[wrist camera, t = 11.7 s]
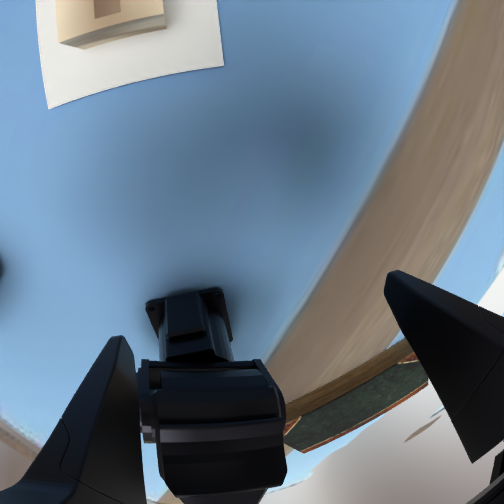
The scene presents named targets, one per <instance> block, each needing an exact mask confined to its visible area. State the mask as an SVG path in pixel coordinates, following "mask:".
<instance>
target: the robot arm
mask: <svg viewBox="0 0 504 504" xmlns="http://www.w3.org/2000/svg"><path fill="white" fill-rule="evenodd" d="M216 293H219V294H218V295H215V294H216ZM384 296H385V298H386V300H387V302H388V304H389V306H390V308H391V310H392V312H393V315H394V317H395V319H396V321H397V323H398V325H399V327H400V329H401V331H402V333H403V334H404V336H405V338H406V339H407V341H408V343H409V344H410V346H411V348H412V350H413V351H414V353H415V355H416V356H417V358H418V360H419V362H420V363H421V365H422V367H423V369H424V370H425V372H426V374H427V376H428V378H429V379H430V381H431V383H432V385H433V387H434V388H435V390H436V392H437V394H438V396H439V398H440V400H441V401H442V403H443V405H444V407H445V409H446V411H447V413H448V415H449V417H450V419H451V421H452V423H453V425H454V427H455V429H456V431H457V433H458V435H459V438H460V440H461V442H462V444H463V446H464V448H465V450H466V452H467V455H468V457H469V459H470V461H471V463H474V462H475V461H477V460H478V459H479V458H481V457H482V456H483V455H485V454H486V453H487V452H489V451H490V450H491V449H492V448H494V447H495V446H496V445H498V444H499V443H500V442H501V441H502V440H503V442H504V317H502V316H500V315H498V314H495V313H493V312H491V311H488V310H487V309H484V308H482V307H480V306H479V307H478V305H476V304H474V303H472V302H469V301H467V300H465V299H463V298H461V297H459V296H456V295H454V294H452V293H450V292H448V291H445V290H443V289H441V288H439V287H436V286H434V285H432V284H430V283H427V282H425V281H423V280H421V279H418V278H416V277H414V276H411V275H409V274H407V273H405V272H402V271H400V270H395V271H392V272H389V273H388V274H387V277H386V282H385V287H384ZM150 307H154V308H150ZM146 312H147V314H148V317H149V319H150V321H151V323H152V326H153V328H154V330H155V333H156V335H157V337H158V339H159V360H160V361H149V359H142V361H141V368H138V372H137V373H136V370H135V361H134V355H133V352H132V350H131V348H130V346H129V345H128V343H127V341H126V339H125V337H124V336H122V335H119V336H113V337H111V338H110V339H109V340H108V342H107V344H106V345H105V347H104V348H103V350H102V351H101V353H100V354H99V356H98V357H97V359H96V361H95V362H94V364H93V365H92V367H91V368H90V370H89V372H88V373H87V375H86V377H85V378H84V380H83V381H82V383H81V385H80V386H79V388H78V390H77V391H76V393H75V395H74V396H73V398H72V400H71V401H70V403H69V405H68V406H67V408H66V410H65V411H64V413H63V415H62V418H61V419H60V420H59V422H58V423H57V425H56V427H55V429H54V430H53V432H52V434H51V435H50V437H49V439H48V440H47V442H46V443H45V445H44V446H43V448H42V449H41V451H40V452H39V454H38V455H37V457H36V458H35V460H34V461H33V463H32V464H31V466H30V467H29V469H28V470H27V472H26V473H25V475H24V476H23V477H22V478H21V480H20V481H19V482H17V483H16V484H15V485H13V486H12V487H9V488H7V489H5V490H3V491H0V504H147V502H146V494H145V485H144V475H143V464H142V451H141V434H140V433H143V440H144V443H156V447H157V458H158V467H159V473H160V476H161V478H162V479H163V480H164V481H165V483H166V485H167V486H168V488H169V489H170V490H171V492H172V493H173V494H174V496H175V497H176V498H179V499H180V500H181V501H182V502H183V503H184V504H259V502H260V501H261V499H262V497H263V496H264V494H265V493H266V491H267V489H268V488H272V487H278V486H281V485H282V484H283V482H284V479H285V477H286V474H287V464H286V458H285V452H284V440H283V431H284V429H285V425H286V406H285V402H284V398H283V395H282V393H281V391H280V389H279V387H278V386H277V384H276V383H275V381H274V380H273V378H272V377H271V375H270V374H269V372H268V371H267V369H266V368H265V366H264V365H263V363H262V361H261V360H260V359H253V360H252V361H234V358H233V354H232V350H231V346H230V342H232V340H233V337H232V333H231V328H230V323H229V319H228V314H227V309H226V304H225V299H224V294H223V291H222V289H221V288H212V289H207V290H203V291H198V292H193V293H188V294H184V295H179V296H174V297H169V298H164V299H159V300H154V301H149V302H147V303H146ZM466 504H504V449H503V450H502V451H501V452H500V453H499V454H498V455H497V456H496V457H495V461H494V467H493V471H492V475H491V480H490V485H489V486H488V487H487V488H485V489H484V490H483V491H482V492H480V493H479V494H478V495H477V496H475V497H474V498H473V499H471V500H470V501H469V502H468V503H466Z"/></svg>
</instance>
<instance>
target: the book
mask: <svg viewBox="0 0 504 504" xmlns="http://www.w3.org/2000/svg"><path fill="white" fill-rule="evenodd" d="M427 385H428V376H427V374H426V372H425V370H424V369H423V367H422V365H421V363H420V362H419V360H418V358H417V356H416V355H415V353H414V351H413V350H412V348H411V346H410V344H409V343H408V341H407V339H406V338H404V339H403V340H401V341H399V342H398V343H396V344H395V345H393V346H392V347H390V348H389V349H387V350H385V351H384V352H382V353H381V354H379V355H377V356H376V357H374V358H372V359H371V360H369V361H367V362H366V363H364V364H362V365H361V366H359V367H357V368H355V369H354V370H352V371H350V372H348V373H347V374H345V375H343V376H341V377H339V378H338V379H336V380H334V381H332V382H330V383H328V384H326V385H324V386H323V387H321V388H319V389H317V390H315V391H313V392H311V393H309V394H307V395H305V396H303V397H301V398H299V399H296V400H294V401H292V402H290V403H288V404H286V405H285V406H286V425H285V429H284V431H283V440H284V443H285V444H287V445H288V446H290V447H292V448H294V449H296V450H298V451H300V452H302V453H307V452H309V451H311V450H314V449H316V448H318V447H320V446H323V445H325V444H327V443H329V442H331V441H333V440H335V439H337V438H339V437H341V436H343V435H345V434H347V433H349V432H351V431H353V430H355V429H357V428H359V427H361V426H362V425H364V424H366V423H368V422H370V421H372V420H373V419H375V418H377V417H379V416H380V415H382V414H384V413H386V412H387V411H389V410H391V409H392V408H394V407H396V406H397V405H399V404H400V403H402V402H404V401H405V400H407V399H408V398H410V397H411V396H413V395H414V394H416V393H417V392H419V391H420V390H421V389H423V388H425V387H426V386H427Z"/></svg>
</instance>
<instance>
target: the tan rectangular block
mask: <svg viewBox="0 0 504 504" xmlns="http://www.w3.org/2000/svg"><path fill="white" fill-rule="evenodd" d="M55 4H56V22H57V35H58V43H60V44H64V45H68V46H72V47H76V48H79V49H83V50H85V49H88V48H91V47H95V46H98V45H101V44H105V43H108V42H112V41H115V40H119V39H123V38H127V37H131V36H135V35H140V34H144V33H149V32H154V31H159V30H164V29H167V28H166V18H165V8H164V0H55Z"/></svg>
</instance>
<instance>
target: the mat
mask: <svg viewBox="0 0 504 504" xmlns="http://www.w3.org/2000/svg"><path fill="white" fill-rule="evenodd" d="M164 8H165V18H166V28H167V29H164V30H159V31H154V32H149V33H144V34H140V35H135V36H131V37H127V38H123V39H119V40H115V41H112V42H108V43H105V44H101V45H98V46H95V47H91V48H88V49H85V50H83V49H79V48H76V47H72V46H68V45H64V44H60V43H58V35H57V22H56V4H55V0H36V16H37V31H38V42H39V51H40V60H41V67H42V74H43V81H44V87H45V93H46V98H47V103H48V108H49V109H51V108H54V107H57V106H60V105H62V104H65V103H68V102H71V101H73V100H76V99H79V98H82V97H85V96H88V95H91V94H95V93H98V92H101V91H105V90H108V89H111V88H115V87H119V86H122V85H126V84H130V83H134V82H138V81H142V80H146V79H151V78H155V77H160V76H165V75H170V74H175V73H181V72H186V71H192V70H199V69H205V68H212V67H220V66H224V61H223V53H222V44H221V36H220V27H219V18H218V9H217V1H216V0H164Z"/></svg>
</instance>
